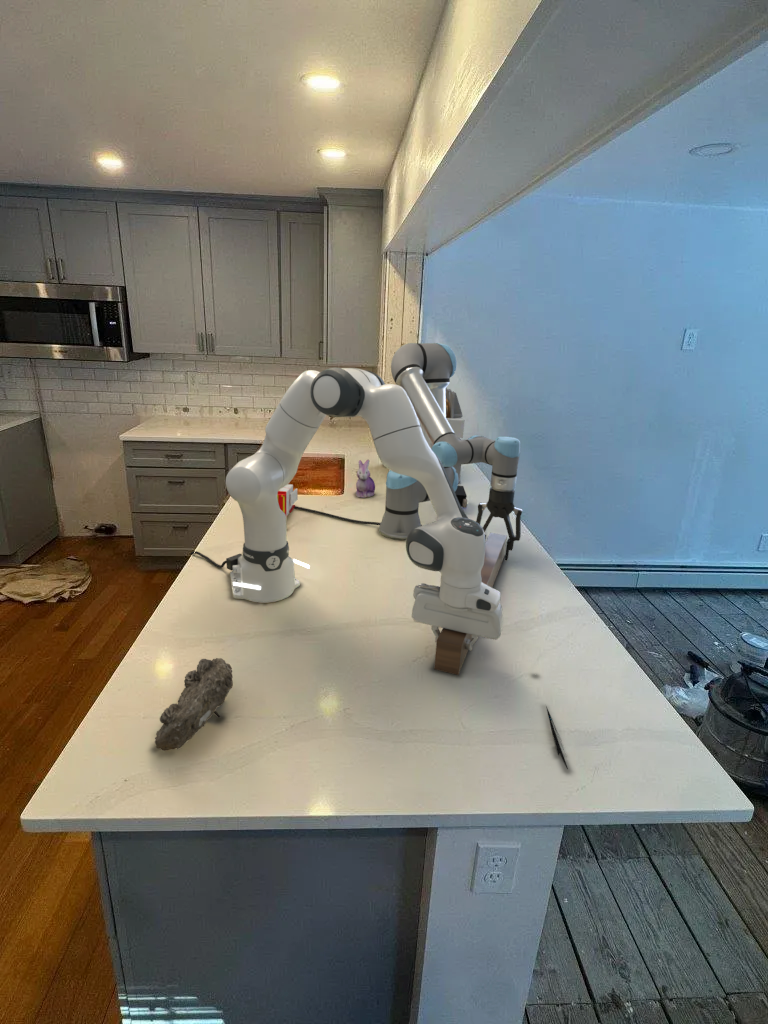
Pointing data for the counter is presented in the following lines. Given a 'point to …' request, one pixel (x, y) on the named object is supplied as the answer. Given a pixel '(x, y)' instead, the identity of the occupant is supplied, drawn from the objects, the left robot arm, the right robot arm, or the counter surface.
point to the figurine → (364, 481)
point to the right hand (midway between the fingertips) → (494, 556)
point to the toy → (287, 498)
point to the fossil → (195, 703)
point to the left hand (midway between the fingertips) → (453, 645)
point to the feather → (556, 737)
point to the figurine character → (461, 496)
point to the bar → (453, 642)
